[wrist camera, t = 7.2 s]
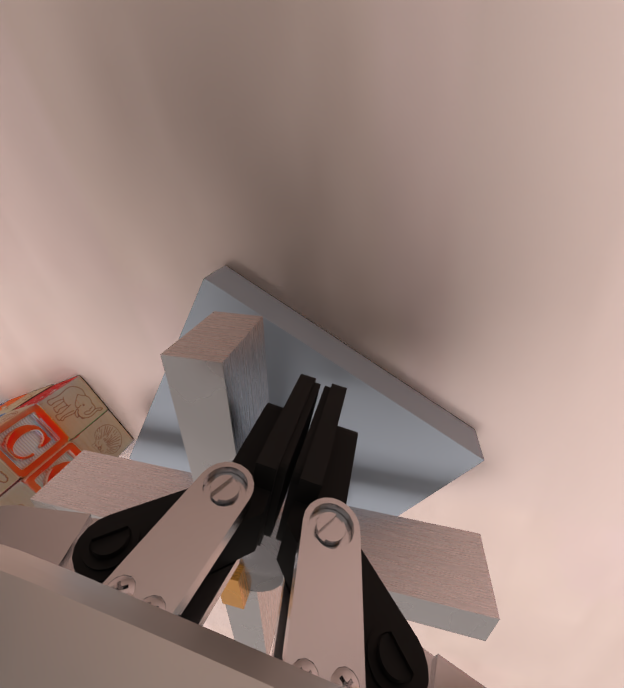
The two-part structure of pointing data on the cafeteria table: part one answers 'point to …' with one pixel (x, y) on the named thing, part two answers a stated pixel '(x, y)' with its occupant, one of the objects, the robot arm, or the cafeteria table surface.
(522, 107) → the cafeteria table surface
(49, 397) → the stack of blocks
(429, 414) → the stand
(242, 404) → the capstan
